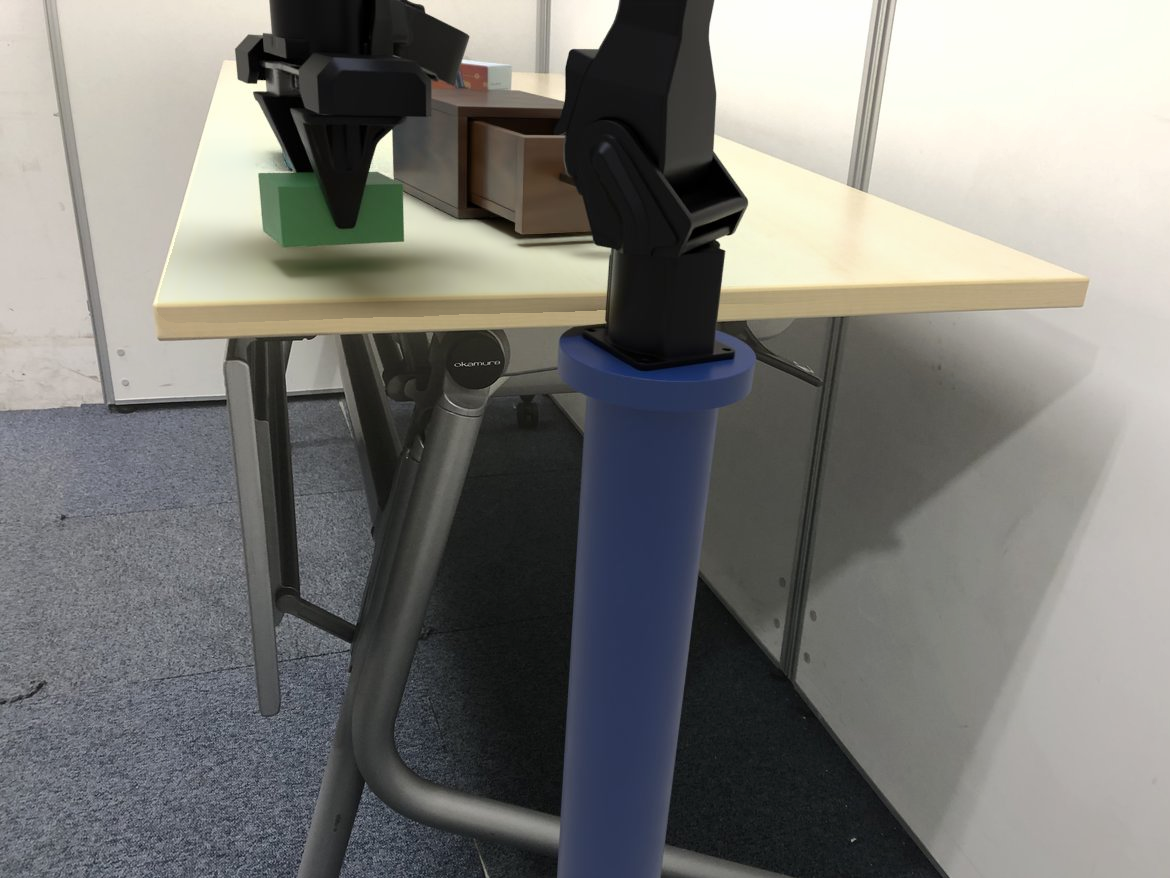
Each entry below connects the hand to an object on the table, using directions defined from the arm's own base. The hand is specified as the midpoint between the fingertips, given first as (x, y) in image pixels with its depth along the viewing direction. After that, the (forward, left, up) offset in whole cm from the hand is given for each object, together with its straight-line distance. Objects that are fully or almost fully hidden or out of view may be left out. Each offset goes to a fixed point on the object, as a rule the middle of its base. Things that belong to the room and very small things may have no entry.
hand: (333, 220), depth 62 cm
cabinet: (+19, -20, -3) cm, 28 cm away
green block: (0, 0, -1) cm, 1 cm away
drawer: (+7, -20, -2) cm, 21 cm away
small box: (+34, -24, -3) cm, 42 cm away
